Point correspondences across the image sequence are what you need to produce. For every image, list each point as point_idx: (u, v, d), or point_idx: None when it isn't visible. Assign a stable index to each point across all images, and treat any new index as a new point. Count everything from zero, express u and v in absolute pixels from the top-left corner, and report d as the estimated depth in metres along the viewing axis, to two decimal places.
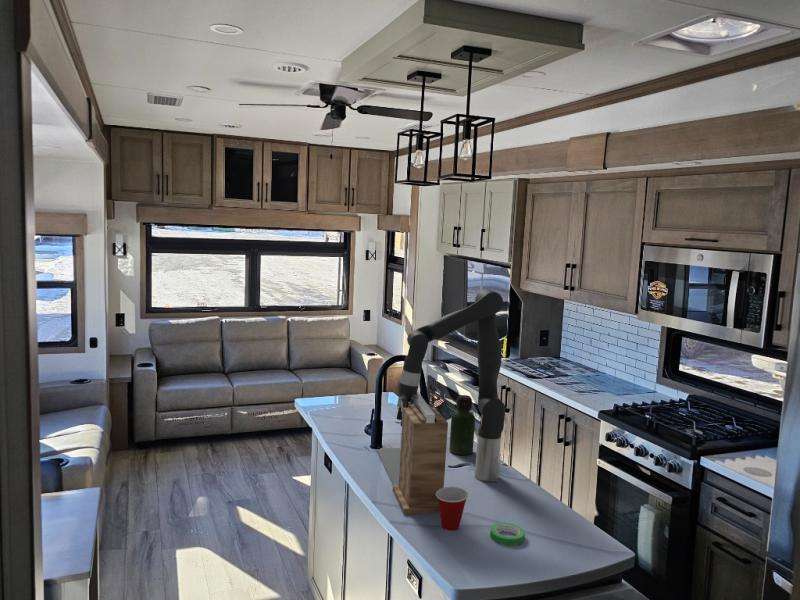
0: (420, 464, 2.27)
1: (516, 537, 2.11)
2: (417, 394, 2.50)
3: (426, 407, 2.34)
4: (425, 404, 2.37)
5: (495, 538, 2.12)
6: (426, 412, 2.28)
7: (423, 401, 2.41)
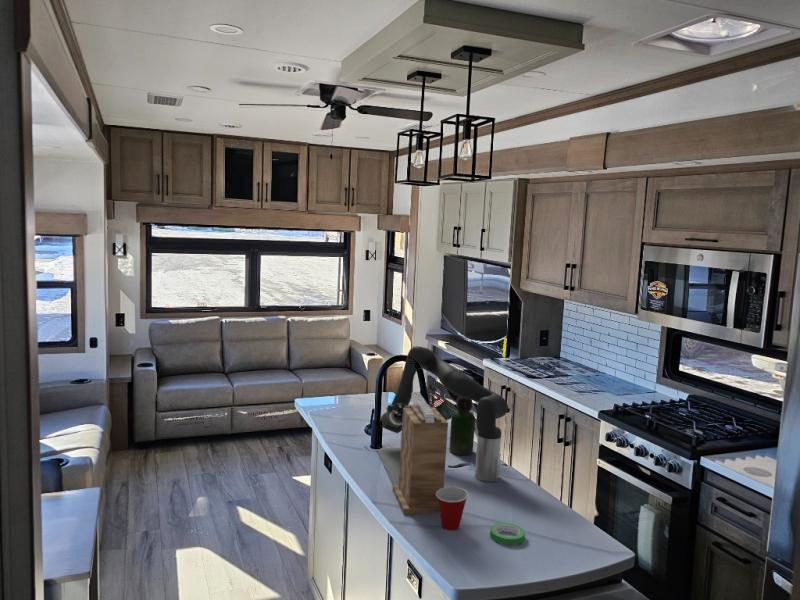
0: (420, 464, 2.27)
1: (516, 537, 2.11)
2: (418, 394, 2.50)
3: (426, 407, 2.34)
4: (425, 404, 2.38)
5: (495, 538, 2.12)
6: (426, 412, 2.28)
7: (423, 401, 2.41)
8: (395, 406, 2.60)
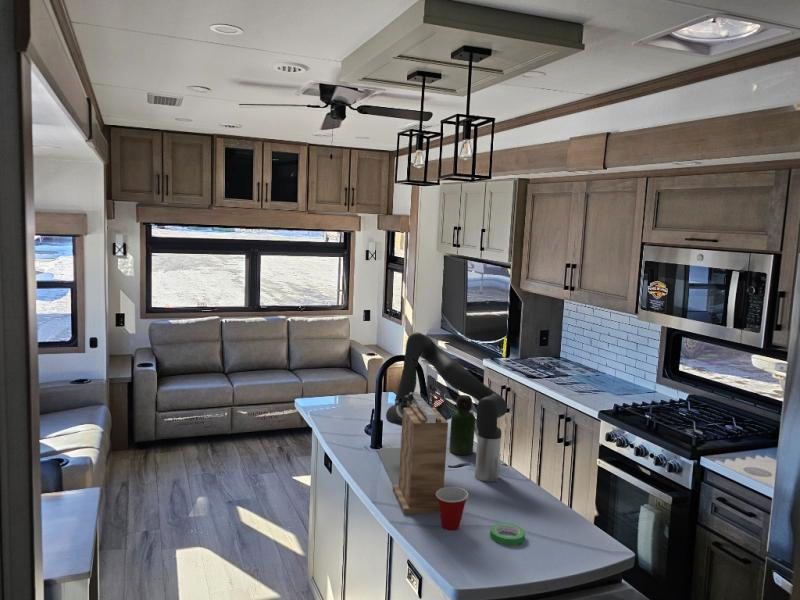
0: (420, 464, 2.27)
1: (516, 537, 2.11)
2: (416, 394, 2.50)
3: (427, 407, 2.34)
4: (425, 404, 2.38)
5: (495, 538, 2.12)
6: (427, 412, 2.28)
7: (423, 401, 2.41)
8: (409, 397, 2.47)
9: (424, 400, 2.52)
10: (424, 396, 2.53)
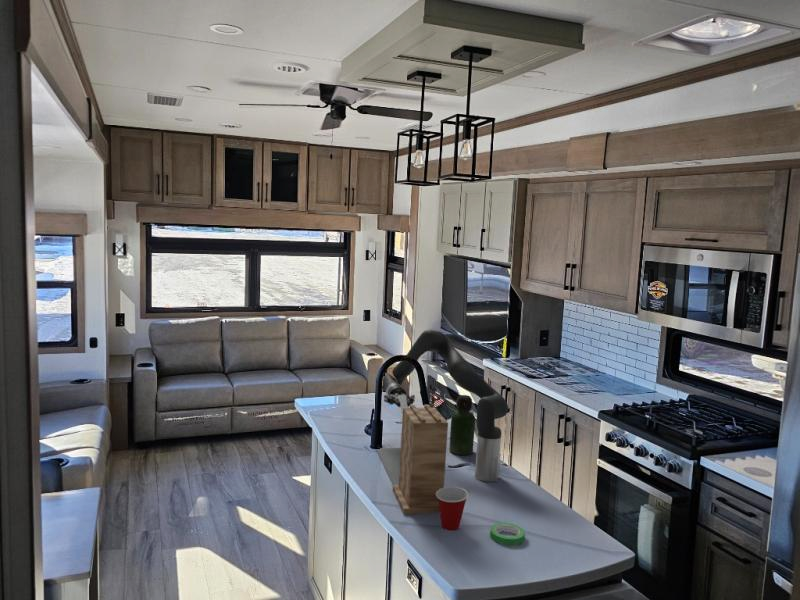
0: (420, 464, 2.27)
1: (516, 537, 2.11)
2: (404, 399, 2.71)
3: None
4: None
5: (495, 538, 2.12)
6: None
7: None
8: (397, 404, 2.69)
9: (411, 402, 2.74)
10: (411, 399, 2.74)
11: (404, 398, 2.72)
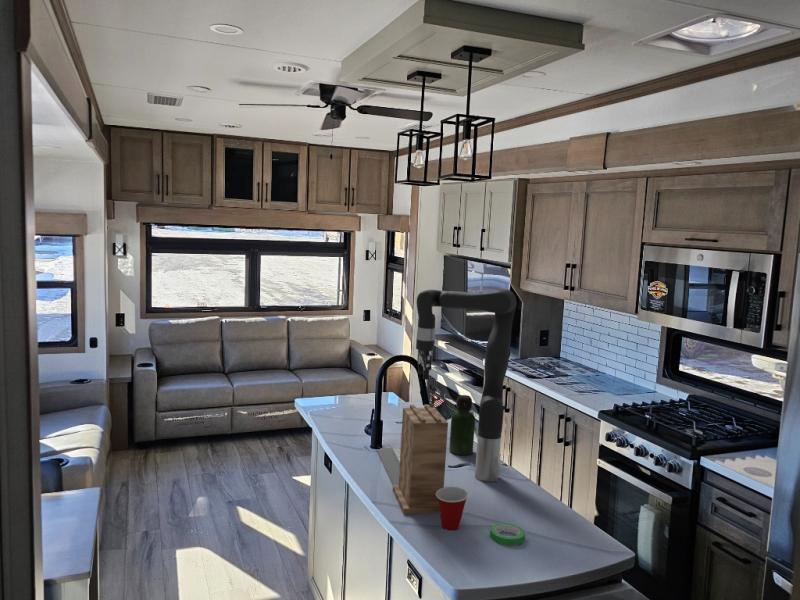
0: (420, 464, 2.27)
1: (516, 537, 2.11)
2: (398, 450, 2.79)
3: None
4: None
5: (495, 538, 2.12)
6: None
7: None
8: (425, 378, 2.69)
9: None
10: None
11: (398, 449, 2.80)
